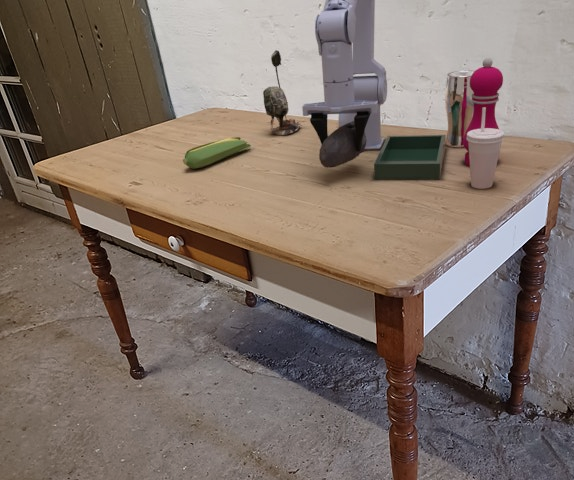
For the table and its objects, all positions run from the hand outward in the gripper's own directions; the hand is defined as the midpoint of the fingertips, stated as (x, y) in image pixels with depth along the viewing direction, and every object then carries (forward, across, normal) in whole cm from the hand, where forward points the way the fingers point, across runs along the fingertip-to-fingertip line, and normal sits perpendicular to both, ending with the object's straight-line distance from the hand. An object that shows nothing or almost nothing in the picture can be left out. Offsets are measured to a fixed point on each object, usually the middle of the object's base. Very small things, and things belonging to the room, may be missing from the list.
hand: (342, 150), depth 114 cm
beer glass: (+6, +22, +21) cm, 31 cm away
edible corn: (+6, -32, +11) cm, 34 cm away
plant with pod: (+6, -23, +34) cm, 41 cm away
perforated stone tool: (+3, 0, 0) cm, 3 cm away
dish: (+5, +13, +8) cm, 16 cm away
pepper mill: (+6, +27, +8) cm, 28 cm away
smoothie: (+6, +27, -5) cm, 28 cm away
